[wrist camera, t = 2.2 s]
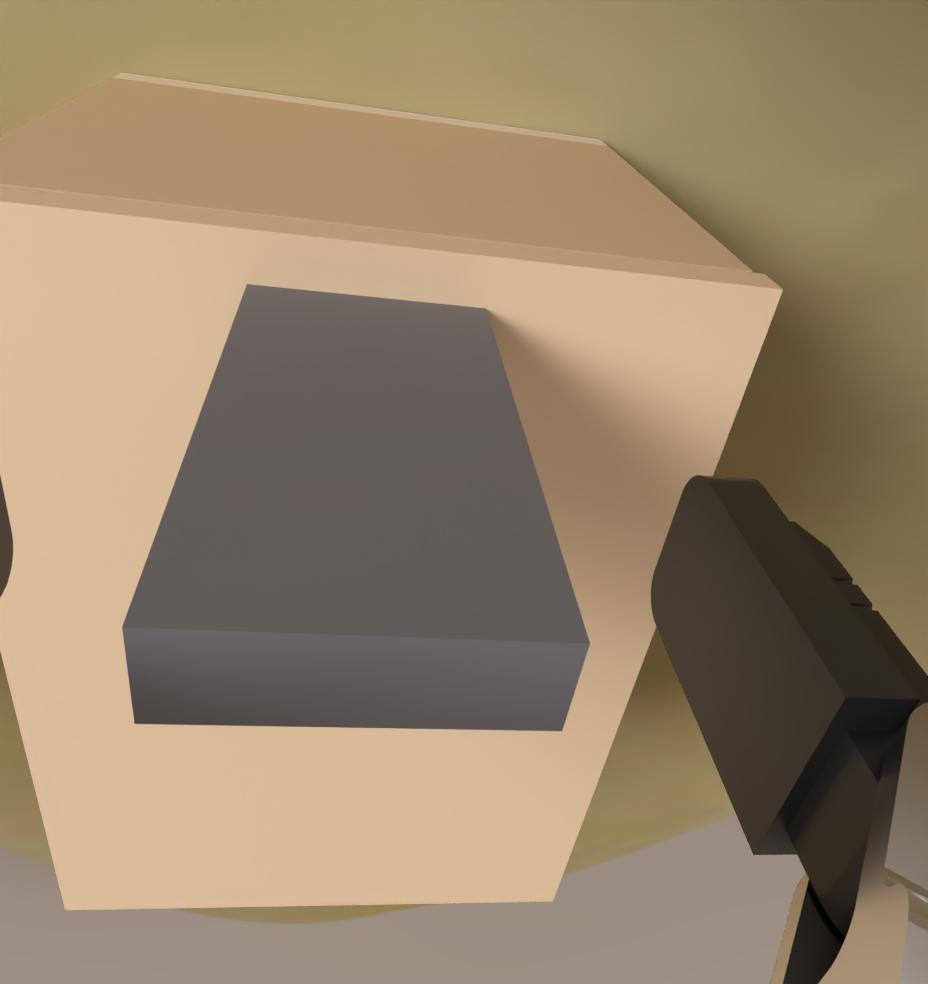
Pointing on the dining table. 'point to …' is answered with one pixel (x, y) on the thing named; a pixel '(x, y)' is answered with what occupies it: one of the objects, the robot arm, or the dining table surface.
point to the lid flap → (335, 542)
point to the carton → (351, 169)
